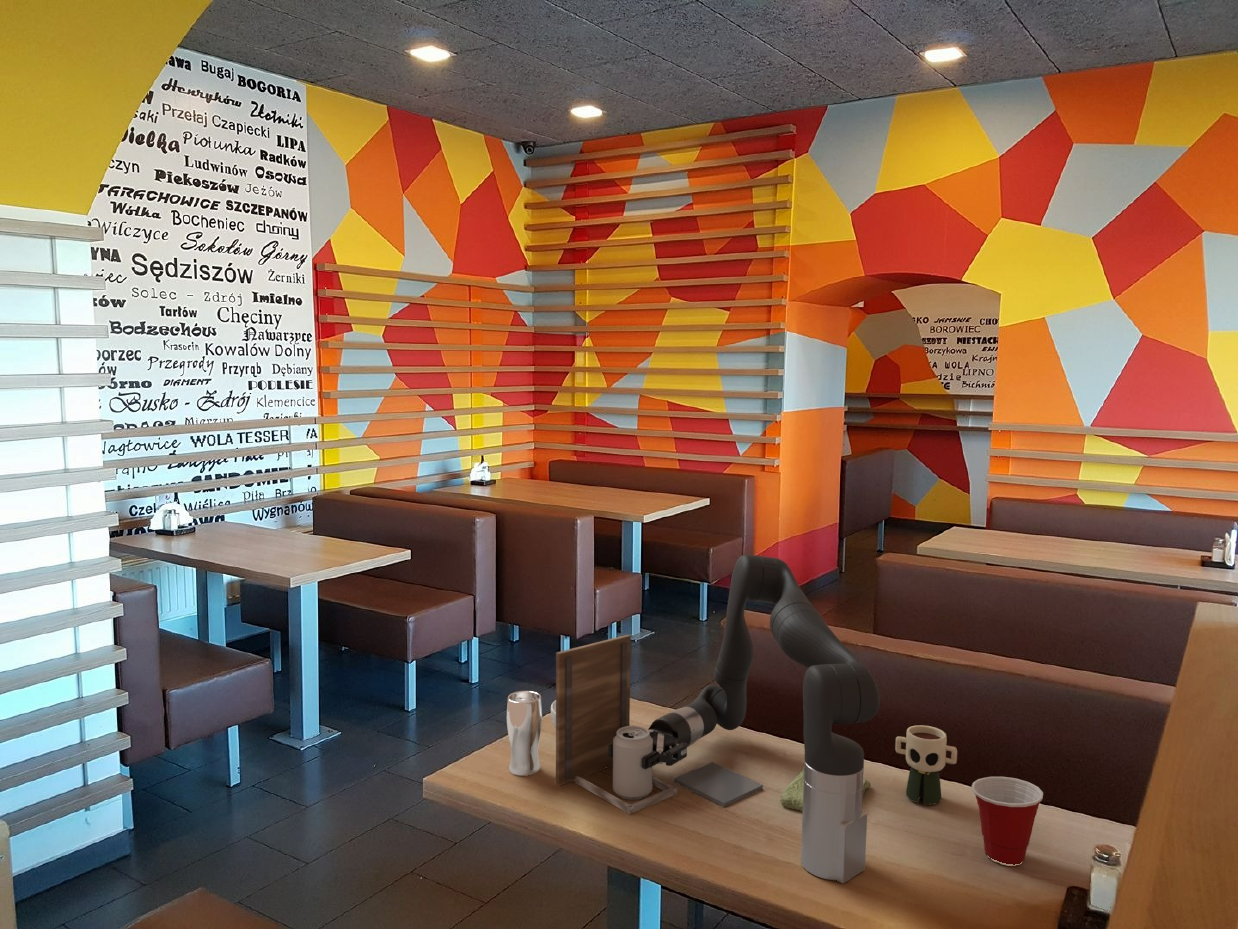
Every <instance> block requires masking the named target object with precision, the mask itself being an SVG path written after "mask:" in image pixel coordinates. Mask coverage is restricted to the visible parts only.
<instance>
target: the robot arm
mask: <svg viewBox="0 0 1238 929" xmlns="http://www.w3.org/2000/svg"><path fill="white" fill-rule="evenodd" d="M727 600H728V601H727V605H726V606H727V608H726V615H725V623H724V624H725V625H724V630H723V631H724V632H723V638H722V641H721V642H722V643H721V646H720V649H719V652H718V653H719V654H718V657H717V661H716V664H715V668H714V672H713V678H714V680H715V682H716V684H708V685H706V686H705V687H704V688H702V690H701V691H700V692H699V694H698V695H697V696H696V698H695V699H693V701H692V702H691V703H689V704H687V705H684V706H683V707H681V708H677V709H674V710H672V711H671V712H668V713H666V714H664V715H663V716H659V717H658V718H655V720H654V721H653V722H652V723H651V724H650V726H649V727H648V728H646V729H647V730H648V731H649V732H650V736H651V738H652V739H653V752H651V753H650V754H648V755H646V756H644V757H643V758H642V768H643V769H648V768H650V767H652V768H654V766H656V765H662V764H663V763H665V765H666V766H668V767H671V766H674V765H675V764H677V763H678V762H680V761H682V760H684V759H685V758H687V757H688V748H689V747H691V746H693V745H694V744H695V743H696V742H698V741H699V740H700V739H702V738H704V737H705V736H708V734H711V733H712V732H713V731H714V730H715V728H716V726H717V725H718V726H720V727H721V728H722V729H724V730H727V731H734V730H736V729H737V728H738V727H740V726H741V725H742V723H743V722H744V720H745V718H746V714H747V701H748V700H747V684H748V683H747V681H748V677H749V675H750V670H751V667H752V664H753V660H754V655H755V654H754V653H755V652H754V644H753V643H754V642H753V639H752V636H751V634H750V632H749V628H748V626H747V622H746V618H745V607H746V603H747V601H751V602H757V603H766V604H772V605H775V606H774V608H773V609H772V611H771V614H770V617H769V627H770V632H771V634H772V636H773V638H774V639H775V641H776V643H777V644H778V646H779V648H780V649H781V650H782V652H784V654H785V655H786V656H787V657H788V658H790V659H791V660H792V661H794V662H796V663H798V664H799V665H801V666H804V667H805V668H807V670H806V671H805V674H804V677H803V684H802V700H803V701H802V704H803V705H802V707H803V744H804V747H803V748H804V761H803V762H804V764H803V766H804V767H803V769H804V789H803V812H802V817H801V818H802V819H801V820H802V823H801V849H800V850H801V851H800V852H801V854H800V862H801V863H800V864H801V865H802V867H803V868H804V869H805V870H806V871H807V872H809V873H810V874H812V875H814V876H815V877H818V878H821V879H823V880H824V879H825V880H831V881H836V880H837V882H839V883H841V884H844V883H846V882H848V881H849V880H851V879H852V878H854V877H855V876H857V875H859V874H860V873H862V872H863V871H865V870H866V850H867V848H866V847H867V828H868V823H867V822H868V815H867V813H866V812H864V811H863V810H862V809H863V795H862V793H863V778H864V770H865V769H864V766H865V752H864V749H863V747H862V746H861V745H860V744H859V743H858V742H856V741H855V740H853V739H851V738H849V737H846V736H843V735H839V734H836V733H835V732H833V730H832V726H833V725H843V724H844V725H845V724H847V725H848V724H860V723H865V722H869V721H870V720H872V719H873V718H875V717H876V715H877V713H878V712H879V710H880V704H881V703H880V702H881V700H880V692H879V687H878V685H877V683H876V681H875V678H874V676H873V675H872V673H871V672H870V669H868V668H867V666H866V665H865V664H864V663H863V662H862V661H861V659H859V658H858V657H857V655H855V654H854V653H852V651H850V650H849V648H847V646H845V645H844V644H843V642H842V641H841V640H840V639H839V638H838V637H837V636H836V634H835V633H834V632H833V631H832V629H831V628H830V626H829V625H828V624H827V622H826V621H825V619H824V618H823V616H821V614H820V613H819V611H818V610H817V608H815V607H814V606H813V604H812V603H811V602H810V600H809V599H808V598H807V595H806V594H805V593H804V592H803V590H802V589H801V587H800V585H799V583H798V582H797V580H796V577H795V576H794V573H793V571H792V570H791V568H790V567H789V565H788V564H787V563H786V561H784V560H783V559H779V558H777V557H770V556H763V555H756V554H743V555H741V556H740V557H739V558H738V559H737V561H736V562H735V564H734V567H733V571H732V574H731V579H730V587H729V594H728V599H727ZM717 684H718V685H717ZM616 735H617V733H615V734H614V737H615V736H616ZM608 756H610V757H613V743H612V744H610V745H609V746H608ZM863 794H864V793H863Z"/></svg>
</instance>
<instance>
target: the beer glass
mask: <svg viewBox="0 0 1238 929" xmlns="http://www.w3.org/2000/svg"><path fill="white" fill-rule="evenodd" d="M506 706H507V707H506V727H507V733H508V740H509V744H510V745H509V746H510V751H511V752H510V763H509V767H508V770H509V772H510V773H511V774H512V775H513V776H514V775H515V776H519V777H528V775H529V776H533V775H535V774H537V773H538V772H539V771H540V769H541V766H540V759H539V744H540V737H541V734H542V733H541V732H542V726H543V725H542V724H543V710H542V707H543V706H542V695H541V694H540V693H539V692H537V691H532V690H520V691H519V690H518V691H515V692H512V693H509V695H508V696H507V705H506Z"/></svg>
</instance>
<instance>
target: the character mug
mask: <svg viewBox="0 0 1238 929" xmlns="http://www.w3.org/2000/svg"><path fill="white" fill-rule="evenodd" d="M947 738H948V737H947V733H946V732H944V730H942V729H940V728H938V727H934V726H930V725H924V724H923V725H913V726H909V727H908V728H907V729H906V737H905V736H896V737H895V747H894V749H895V752H896V753H897V754H899V755H905V760H906V763H907V764H908V766H910V767H911V768H910V769H909V774H908V777H907V778H908V779H907V783H906V789H905V792H906V793H905V794H906V797H907V798H908V799H909V800H911V801H913V802H915V803H919V802H920V801H919V800H920V799H921V800H923V805H935V804H939V803H940V802H941V800H942V786H941V780H940V777H941V776H940V772H939V771H942V770H943V769H944V768H945V766H946V764H950V765H955V764H957V761H958V750H957V747H956V746H951V745H947V742H948V740H947ZM902 743H905V748H904V749H903V748H902ZM947 751H948V752H951V754H950V757H947V756H946V755H947Z"/></svg>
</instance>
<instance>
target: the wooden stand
mask: <svg viewBox="0 0 1238 929" xmlns="http://www.w3.org/2000/svg"><path fill="white" fill-rule="evenodd" d="M555 700H556V728H555V785H556V786H558V785H560V786H562V785H565V784H567V783H571V782H573V781H574V783H575V784H576V785H578V786H579V787H581V788H583V789H585V790H587V791H588V792H590V793H592V794H594V795H595V796H597V797H599V798H601V799H602V800H604V801H606V802H608V803H609V804H610V805H613V806H615V807H616V808H618V809H620V810H622V811H623V812H625V813H626V814H628V815H632V814H634V813H637V812H639V811H640V810H643V809H645V808H648V807H650V806H653V805H655V804H658V803H660V802H662V801H664V800H667V799H669V798H671V797H673V796H677V795H678V788H677V787H676V786H673V785H671V784H669V782H668V783H667V782H665V781H664V780H662V779H660V778H657V777H656V776H653V775H652V786H654V785H655V786H654V787H657V788H658V789H660V790H662V791H659V792H658V793H655V794H653V795H651V796H648V797H644V798H642V799H640V800H638V801H635V802H634V803H632V804H629V803H628V802H626V801H624V800H622V799H621V798H619V797H617V796H615V795H613V794H611V793H609V792H608V791H607V790H605V789H603V788H601V787H599V786H597V785H596V784H593V783H592V782H590V781H589V780H587V779H585V778H584V777H586V776H589V775H592V774H594V773H598V772H599V771H602V770H604V769H607V768H606V767H608V768H610V767H613V757H610V756H608V746H609V745H610V744H612V743H613V738H614V734H615V733H617V730H618V729H620V728H622V727H626V726H631V725H630V722H631V720H630V719H631V718H630V713H631V712H630V710H631V702H630V701H631V635H629V634H625V635H621V636H616V637H613V638H609V639H605V640H601V641H597V642H593V643H589V644H585V645H582V646H577V647H573V648H570V649H569V648H568V649H565V650H562V651H557V652H555Z"/></svg>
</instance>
